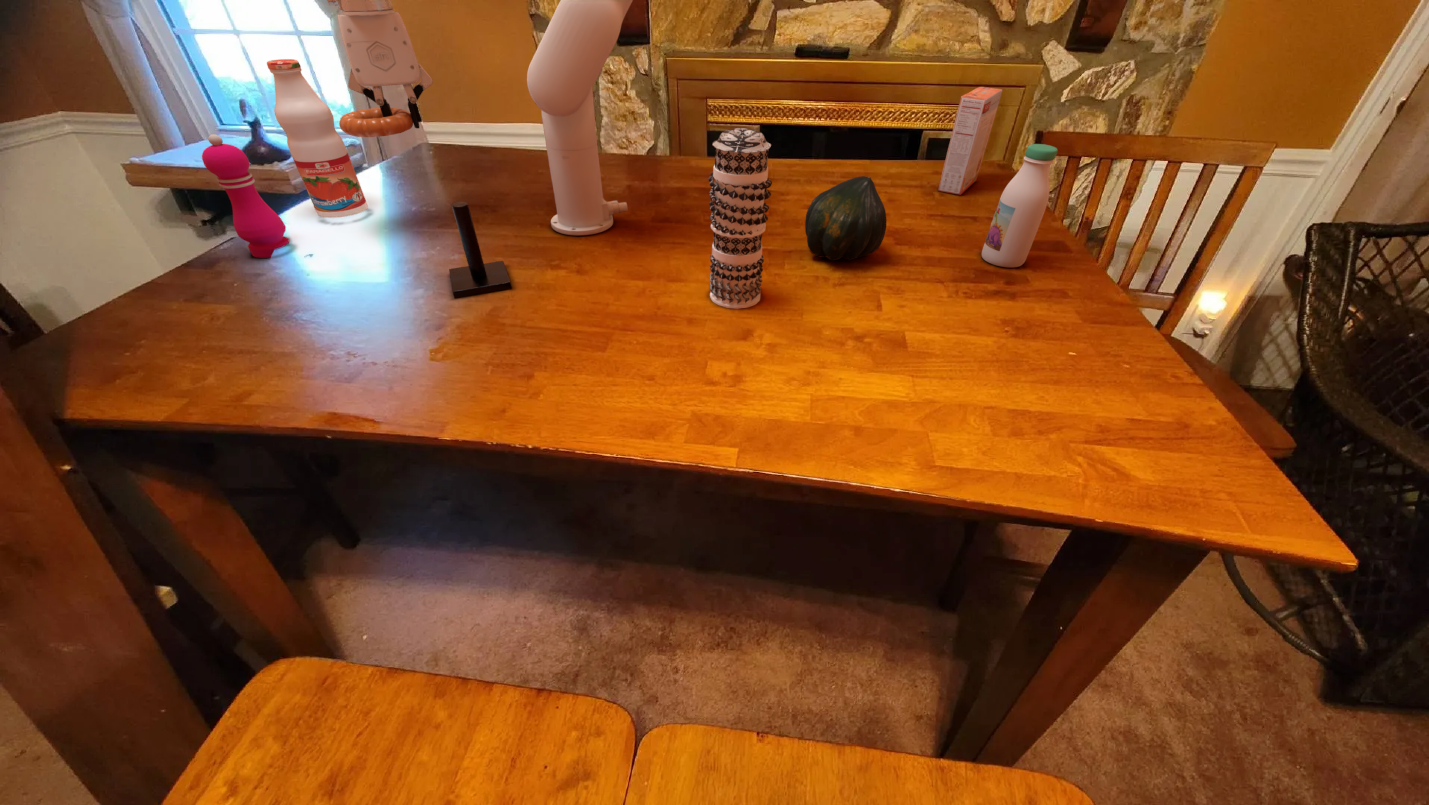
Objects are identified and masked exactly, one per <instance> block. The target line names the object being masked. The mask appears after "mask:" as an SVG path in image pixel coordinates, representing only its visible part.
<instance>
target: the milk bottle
mask: <svg viewBox="0 0 1429 805" xmlns="http://www.w3.org/2000/svg"><path fill="white" fill-rule="evenodd" d="M1058 150H1059V149H1058V148H1057V147H1055V146H1053V145H1050V144H1044V143H1043V144H1042V143H1033V144H1032V143H1031V144H1028V146H1027V148H1026V150H1025V154H1024V156H1023V160H1024V161H1023V163H1022V165H1021V167H1020V168H1019V170H1018V171H1017V172H1016V174H1014V176H1013V178H1012V179H1011V180H1010V181H1009V182H1008V183H1007V184H1006V186H1005V188H1004V189H1003V191H1002V193H1001V196H1000V198H999V201H998V204H997V206H996V208H995V212H994V214H993V218H992V220H991V223H990V225H989V229H988V232H987V234H986V238H985V241H984V244H983V247H982V249H981V250H982V251H981V253H980V254H981V257H982V259H983V260H984V261H985V262H987V263H988V264H991V265H993V266H998V267H1003V268H1018V267H1021V266H1023V264H1025V262H1026V261H1027V258H1028V255H1029V253H1030V250H1031V248H1032V245H1033V243H1034V241H1035V237H1036V235H1037V233H1038V230H1039V229H1040V225H1041V222H1042V220H1043V217H1044V214H1045V212H1046V209H1047V207H1048V203H1049V198H1050V169H1051V165H1052V164H1053V163H1054V161H1055V159H1056V157H1057V154H1058Z"/></svg>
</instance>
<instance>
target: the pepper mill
mask: <svg viewBox="0 0 1429 805" xmlns="http://www.w3.org/2000/svg"><path fill="white" fill-rule="evenodd" d="M207 139H208V140H207V141H208V142H209V144H211V145H210V146H207V147H206V148H205V149H204V150H203V152H202V153H201V160H202V163H203V165H204V167H205V169H206V170H207V171H208V172H210V173H212V174H213V175H214V176H216V178H215V180H216V181H217V183H218V186H219V187H220V188H222V189H224V190H225V192H226V194H227V196H228V198H229V200H230V204H231V207H232V223H233V227H234V230H235V232H236V234H237V236H238V237H239V238H240V239H241V240H243V241H245V242H247V243H248V245H247V249H248V250H249V252H250V254H251V255H252V257H254V258H257V259H270V258H272V255H273V253H274V251H275V250H277V249H281V248H283V247H285V246H287V245H288V244H289V242H290V239H289V238H288V237H287V236H285V232H286V229H287V228H286V225H285V222H284V221H283V219H282V217H280V216H279V215H278V213H276V212H275V211H274V210H273V208H272V207H270V206H269V205H268V204H267V203H266V202H265V201H264V199H263V198H262V197H261V195H260V194H259V192H258V191H257V188H256V186H255V182H256V180H255V178H254V177H253V173H252V172H249V168H250V164H251V163H250V161H249V158H248V157H247V155H246V153H245V152H244V151H243V150H242V149H240V148H239V147H237V146H235V145H232V144H228V143H224V142H223V139H222V137H221V136H220V135H218V134H216V133H211V134H210V135H208V137H207Z"/></svg>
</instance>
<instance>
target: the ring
mask: <svg viewBox="0 0 1429 805" xmlns="http://www.w3.org/2000/svg"><path fill="white" fill-rule="evenodd" d="M390 108H391V111H392V114H393V116H388V117H383V115H382V112H381V109H380V107H373V108H365V109H359V110H354V111H350V112H347V113H344V114H343V115H342V116H341V117H340V119H339V122H338V126H339V129H340V130H341V131H342V132H343V133H344V134H347V135H349V136H353V137H355V138H378V137H389V136H393V135H398V134H402V133H404V132H407V131H409V130H411V129H412V128H413V126H414V123H413V120H412V117H411V114H410V111H408V110H406V109H402V108H399V107H390Z"/></svg>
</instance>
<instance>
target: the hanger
mask: <svg viewBox="0 0 1429 805" xmlns="http://www.w3.org/2000/svg"><path fill="white" fill-rule="evenodd" d="M451 209H452V213H453V215H454V219H455V223H456V226H457V227H456V228H457V230H458V234H459V237H460V241H461V245H462V247H463V251H464V255H465V259H466V262H467V266H465V265H464V266H460V267H459V266H458V267H453V268H449V269H448V270H449V271H448V272H449V279H450V285H451V290H452V295H453V298H454V299H458V298H464V297H469V296H475V295H482V294H488V293H492V292H499V291H505V290H510V289H512V283H511V279H510V277H509V274H508V271H507V268H506V265H505V262H504V260H499V261H491V262H485V263H484V260H483V256H482V252H481V247H480V244H479V240H478V237H477V233H476V230H475V225H474V222H473V221H474V220H473V218H472V214H471V211H470V206H469V203H468V202H467V201H456V202H453V203H452V204H451Z"/></svg>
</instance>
